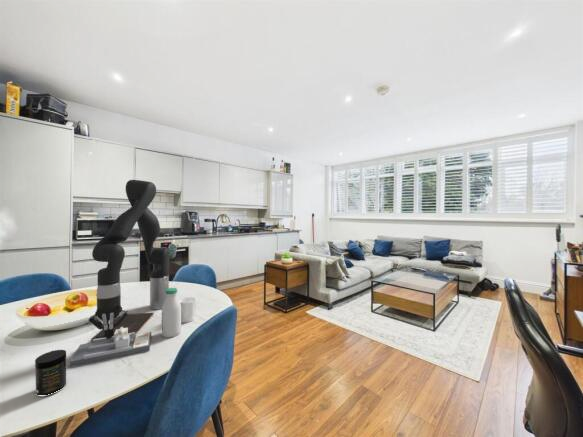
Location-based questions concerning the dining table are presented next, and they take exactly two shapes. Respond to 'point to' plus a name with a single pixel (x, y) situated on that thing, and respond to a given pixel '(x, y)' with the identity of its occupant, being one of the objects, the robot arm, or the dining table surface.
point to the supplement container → (50, 372)
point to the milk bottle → (171, 314)
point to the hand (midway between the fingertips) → (109, 337)
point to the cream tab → (120, 332)
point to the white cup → (187, 309)
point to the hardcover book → (129, 323)
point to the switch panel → (109, 349)
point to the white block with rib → (122, 341)
